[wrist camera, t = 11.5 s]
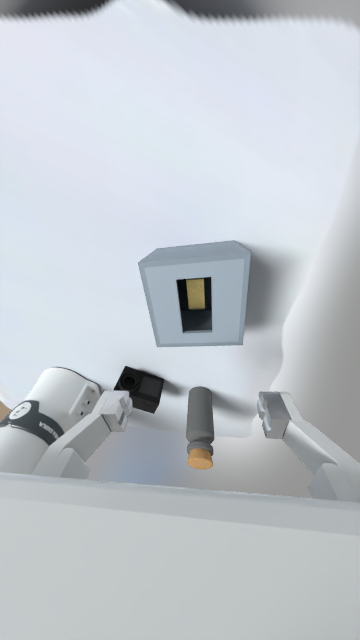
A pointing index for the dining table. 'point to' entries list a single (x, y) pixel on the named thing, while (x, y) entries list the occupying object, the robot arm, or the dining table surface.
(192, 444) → the bottle
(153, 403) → the digital camera
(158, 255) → the box
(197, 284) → the block
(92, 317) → the dining table surface
